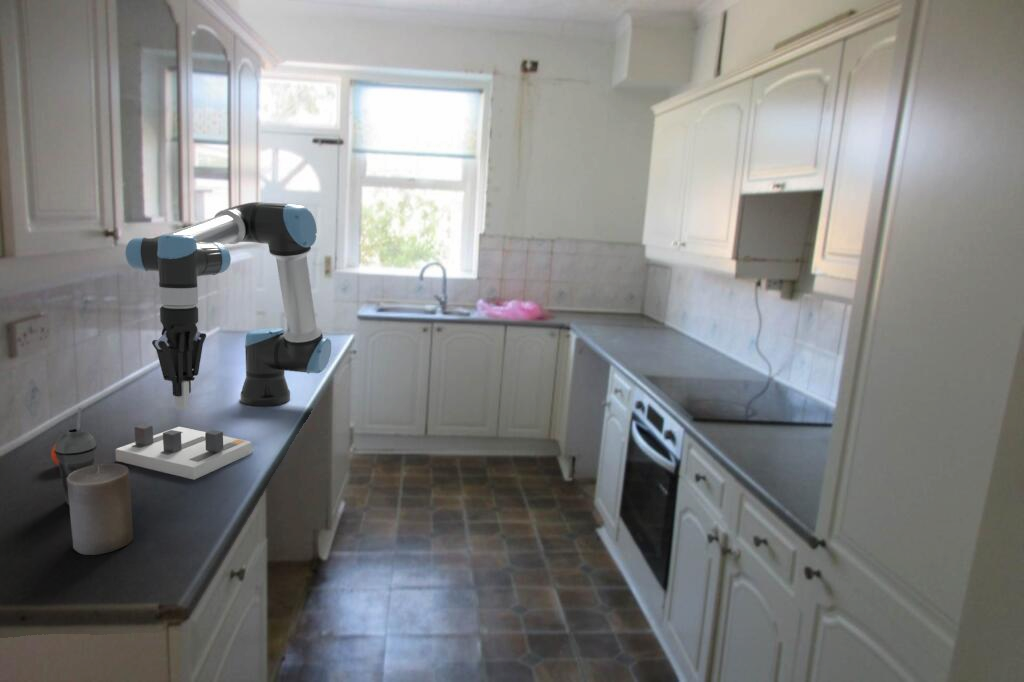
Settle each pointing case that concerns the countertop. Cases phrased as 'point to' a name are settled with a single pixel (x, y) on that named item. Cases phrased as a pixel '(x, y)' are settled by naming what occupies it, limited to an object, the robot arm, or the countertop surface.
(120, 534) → the pillar candle
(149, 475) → the countertop surface
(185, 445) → the breaker panel
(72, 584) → the countertop surface
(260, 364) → the robot arm
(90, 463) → the beverage cup
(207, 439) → the handle
